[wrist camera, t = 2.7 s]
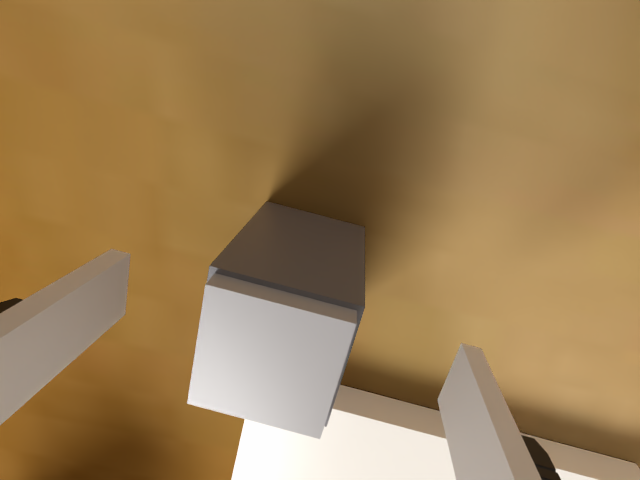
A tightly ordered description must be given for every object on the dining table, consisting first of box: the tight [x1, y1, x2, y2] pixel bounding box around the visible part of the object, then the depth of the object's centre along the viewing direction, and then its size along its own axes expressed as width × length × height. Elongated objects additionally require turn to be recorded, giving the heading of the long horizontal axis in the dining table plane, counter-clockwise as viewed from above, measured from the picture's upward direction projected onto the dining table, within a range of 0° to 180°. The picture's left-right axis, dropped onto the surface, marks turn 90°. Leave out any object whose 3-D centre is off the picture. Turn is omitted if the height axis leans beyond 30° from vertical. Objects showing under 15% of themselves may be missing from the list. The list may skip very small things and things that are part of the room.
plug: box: [187, 201, 365, 439], centre depth 17 cm, size 5×5×9 cm
